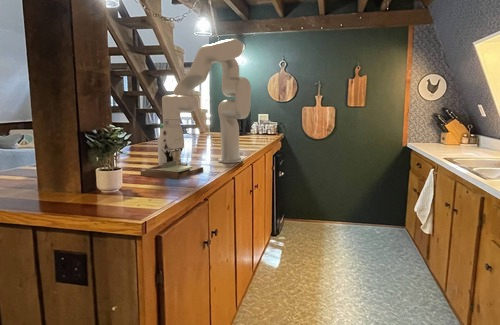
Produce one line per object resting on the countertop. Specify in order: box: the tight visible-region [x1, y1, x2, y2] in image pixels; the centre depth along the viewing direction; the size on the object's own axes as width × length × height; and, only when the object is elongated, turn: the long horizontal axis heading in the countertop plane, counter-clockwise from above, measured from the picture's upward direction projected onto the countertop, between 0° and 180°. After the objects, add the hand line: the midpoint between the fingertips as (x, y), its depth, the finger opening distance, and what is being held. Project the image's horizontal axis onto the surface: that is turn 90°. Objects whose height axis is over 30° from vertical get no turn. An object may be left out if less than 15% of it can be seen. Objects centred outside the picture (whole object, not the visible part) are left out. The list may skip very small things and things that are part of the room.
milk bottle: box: [157, 124, 167, 166], centre depth 177 cm, size 8×8×20 cm
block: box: [166, 150, 182, 165], centre depth 162 cm, size 4×4×7 cm
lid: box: [162, 161, 193, 172], centre depth 149 cm, size 9×9×3 cm
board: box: [139, 162, 204, 180], centre depth 157 cm, size 18×20×3 cm
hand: (173, 163), depth 162 cm, fingers closed on block, 4 cm apart
